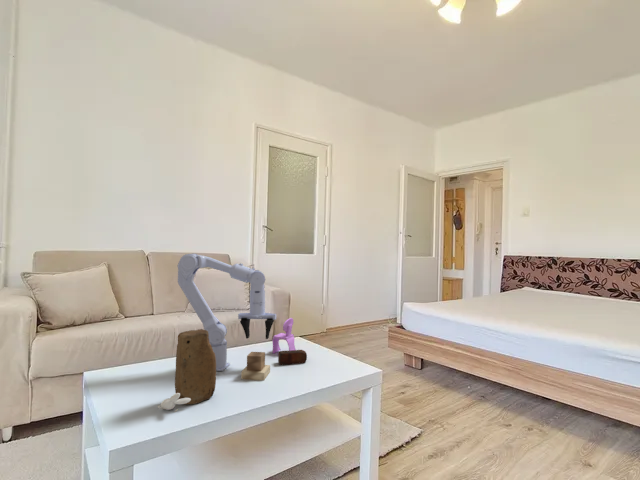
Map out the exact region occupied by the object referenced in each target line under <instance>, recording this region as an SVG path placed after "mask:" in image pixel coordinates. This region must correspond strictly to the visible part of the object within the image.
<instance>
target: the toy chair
mask: <svg viewBox="0 0 640 480" xmlns="http://www.w3.org/2000/svg"><path fill="white" fill-rule="evenodd" d="M293 325H294V318H293V317H289V318H288V319H286V320H285V321H284V322H283V325H282V326H283V327H282V330H283V331H284V332H285V333H284V332H280V333H278V334H275V335H273V338H272V354H275V353H277V352H279V351H282V350H281V347H280V340H284V341H286V342H287V346H288V351H291V350H297V349H296V345H295V336H294V334H293V333H292V331H293Z"/></svg>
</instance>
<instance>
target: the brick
mask: <svg viewBox="0 0 640 480" xmlns="http://www.w3.org/2000/svg"><path fill="white" fill-rule="evenodd" d="M277 356H278V358H277V359H278V360H277V363H278V364H279V366H287V365H300V364H306V362H307V360H308V357H307V356H308V355H307V352H306V351H305V350H303V349H296V350H291V351H289V350H279V351H278V355H277Z"/></svg>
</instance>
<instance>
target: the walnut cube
mask: <svg viewBox="0 0 640 480" xmlns="http://www.w3.org/2000/svg"><path fill="white" fill-rule="evenodd" d="M265 365H266V352H265V351H250V352H249V353H248V355H246V366H247V371H261V370H262V369H263V368H264V367H265Z"/></svg>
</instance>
